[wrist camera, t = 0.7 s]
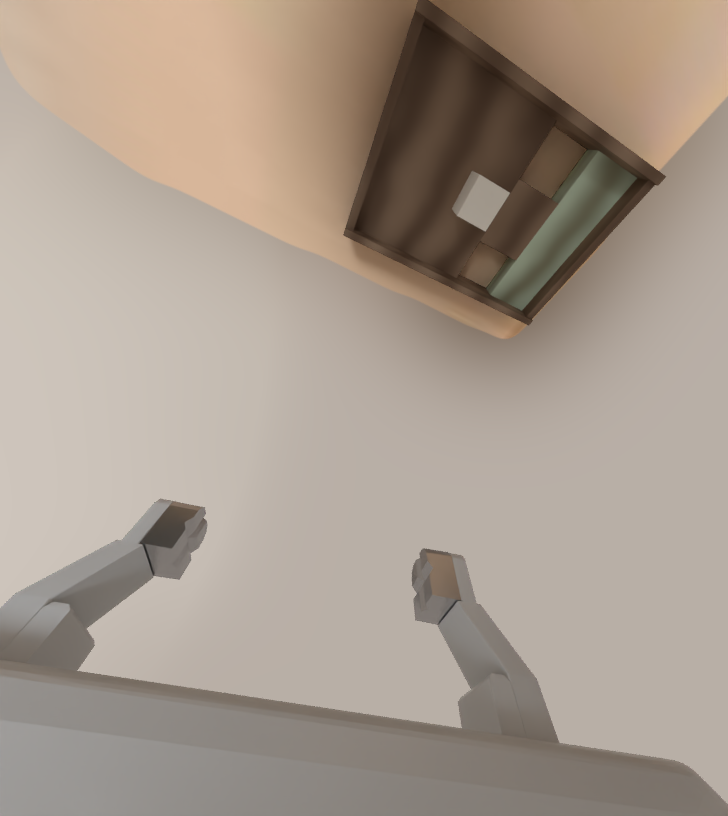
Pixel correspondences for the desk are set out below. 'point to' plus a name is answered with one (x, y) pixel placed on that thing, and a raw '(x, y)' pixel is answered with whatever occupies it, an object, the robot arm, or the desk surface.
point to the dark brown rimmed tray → (485, 171)
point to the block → (479, 201)
